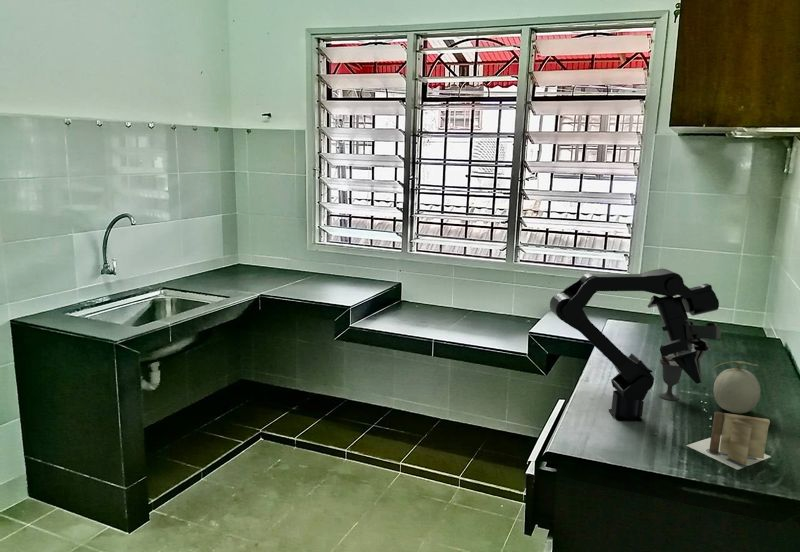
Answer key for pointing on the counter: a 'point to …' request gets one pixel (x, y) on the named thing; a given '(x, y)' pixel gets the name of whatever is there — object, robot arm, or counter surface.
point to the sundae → (670, 375)
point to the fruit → (736, 389)
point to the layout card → (722, 454)
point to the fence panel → (756, 437)
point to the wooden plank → (732, 438)
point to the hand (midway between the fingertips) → (699, 383)
